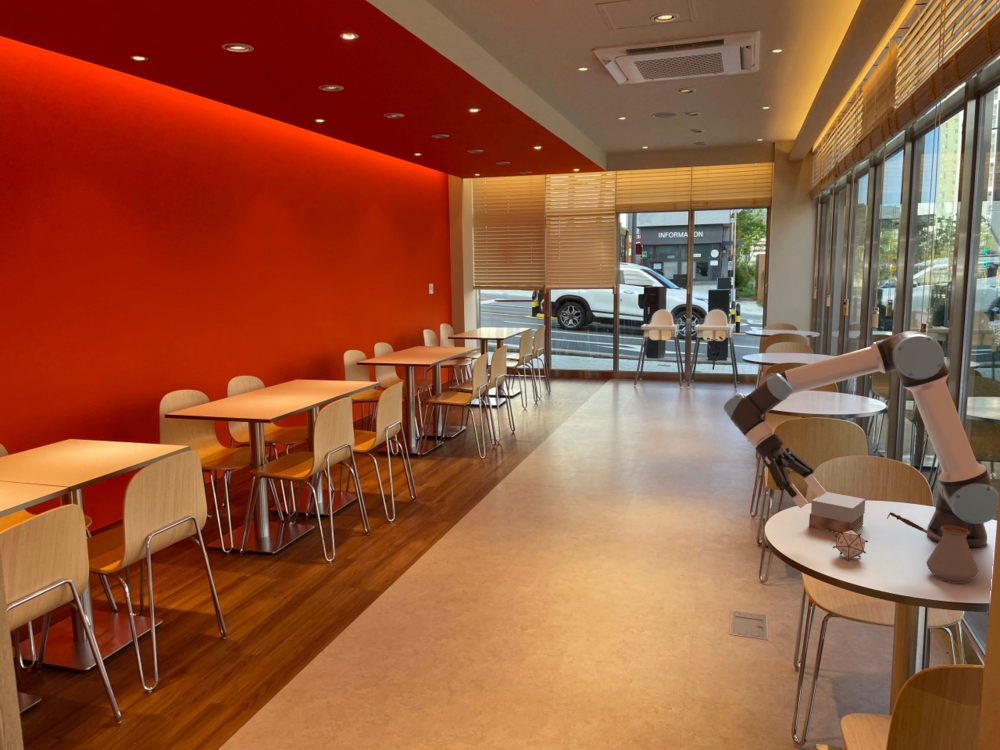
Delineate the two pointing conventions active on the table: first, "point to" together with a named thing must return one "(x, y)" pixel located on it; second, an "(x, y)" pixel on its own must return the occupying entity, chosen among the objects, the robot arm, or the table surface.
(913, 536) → the table surface
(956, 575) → the coffee pot
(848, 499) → the tower top slab
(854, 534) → the game die
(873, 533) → the table surface
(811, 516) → the tower bottom slab
